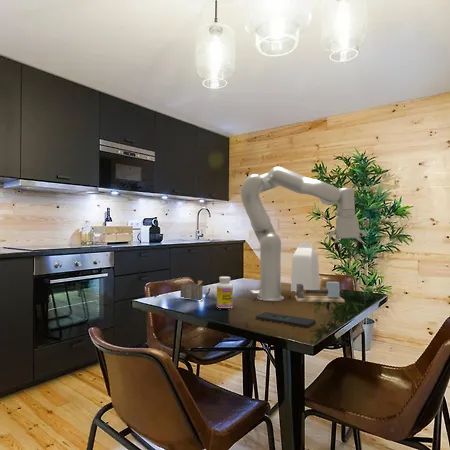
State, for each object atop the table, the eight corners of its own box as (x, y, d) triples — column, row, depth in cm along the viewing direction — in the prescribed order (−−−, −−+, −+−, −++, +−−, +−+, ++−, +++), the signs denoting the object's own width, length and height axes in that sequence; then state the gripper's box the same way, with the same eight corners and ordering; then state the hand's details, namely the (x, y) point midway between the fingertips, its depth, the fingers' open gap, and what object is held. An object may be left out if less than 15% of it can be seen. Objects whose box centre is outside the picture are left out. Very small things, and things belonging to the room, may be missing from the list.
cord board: (297, 301, 154) (297, 286, 154) (295, 297, 162) (294, 283, 163) (344, 302, 152) (344, 286, 152) (339, 298, 161) (339, 283, 161)
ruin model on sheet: (203, 301, 155) (203, 280, 155) (198, 302, 153) (198, 281, 153) (184, 298, 162) (184, 278, 162) (180, 299, 159) (180, 279, 159)
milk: (290, 291, 180) (290, 242, 180) (299, 288, 189) (299, 242, 190) (312, 293, 173) (312, 243, 174) (320, 290, 183) (319, 242, 183)
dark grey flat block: (265, 311, 129) (316, 319, 118) (265, 316, 129) (316, 324, 118) (254, 315, 122) (307, 324, 111) (254, 320, 122) (307, 329, 111)
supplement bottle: (221, 310, 135) (221, 278, 136) (214, 307, 141) (214, 276, 141) (235, 309, 138) (235, 277, 139) (228, 305, 144) (228, 275, 144)
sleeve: (328, 297, 155) (328, 282, 155) (326, 295, 159) (326, 281, 159) (339, 297, 154) (339, 283, 155) (337, 295, 158) (337, 281, 159)
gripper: (328, 214, 155) (330, 251, 154) (368, 212, 152) (369, 250, 151) (326, 215, 162) (327, 250, 162) (363, 213, 159) (365, 249, 159)
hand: (348, 250), depth 157 cm, fingers open, 9 cm apart
